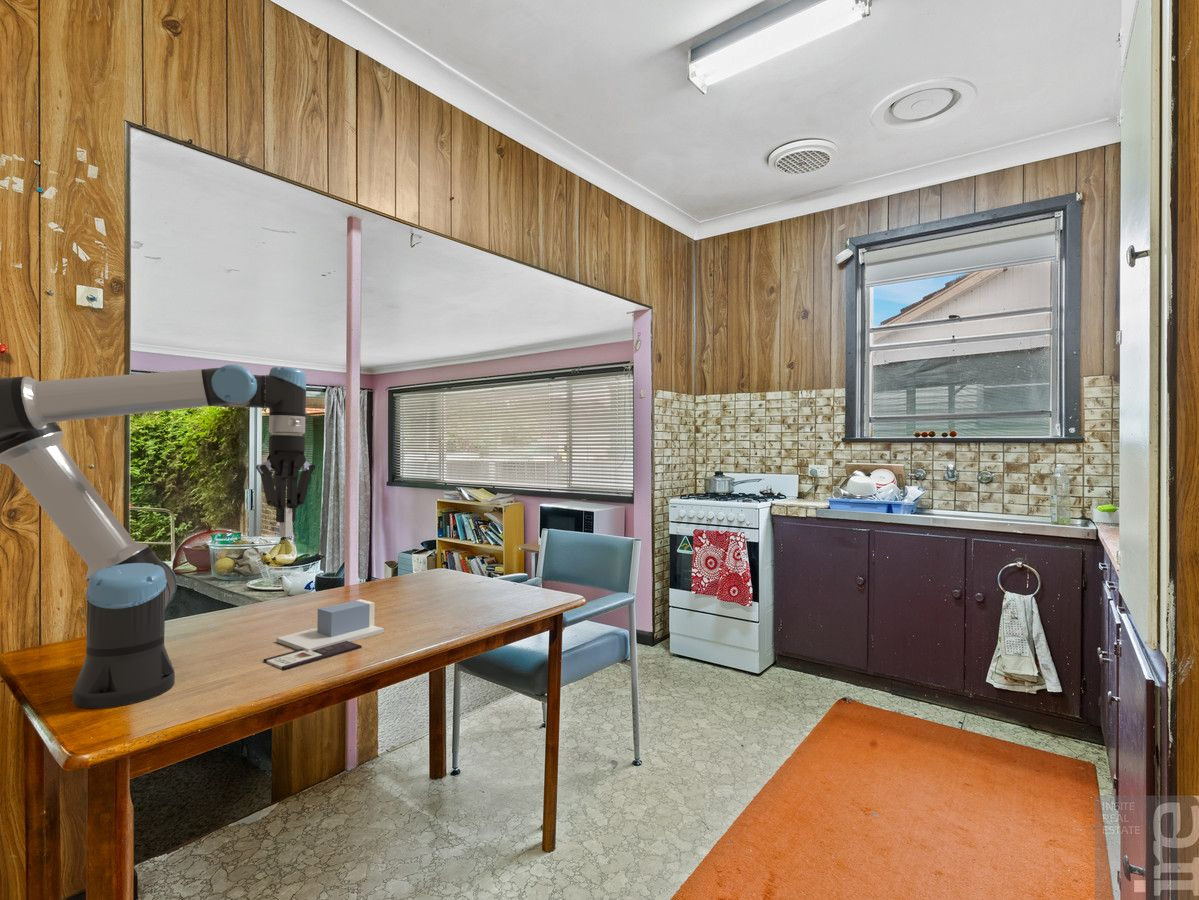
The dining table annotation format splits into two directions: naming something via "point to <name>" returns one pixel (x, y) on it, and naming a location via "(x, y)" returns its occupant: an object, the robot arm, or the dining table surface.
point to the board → (324, 638)
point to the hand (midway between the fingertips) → (285, 536)
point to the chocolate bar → (310, 655)
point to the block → (345, 617)
